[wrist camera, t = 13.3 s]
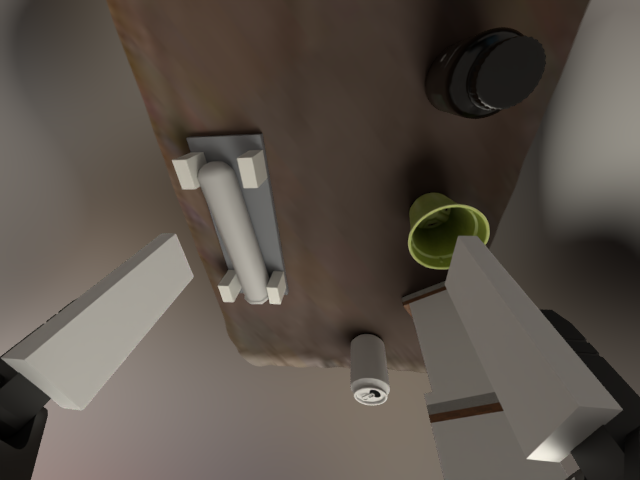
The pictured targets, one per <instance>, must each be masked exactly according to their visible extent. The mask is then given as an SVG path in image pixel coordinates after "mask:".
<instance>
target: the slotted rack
mask: <svg viewBox="0 0 640 480" xmlns="http://www.w3.org/2000/svg"><path fill="white" fill-rule="evenodd" d="M186 139H187V142H188V145H189V148H190V152H191V153H188V154H186V155H183V156H181V157H178V158H176V159H174V160H172V162H173V165H174V167H175V170H176V173H177V176H178V178H179V181H180V184H181V187H182V189H197V188H198V187H200V184H199V182H198V179H197V177H198V173H199V170H200V169H201V168H202V166H203V165H205V164H207V163H209V162H213V161H222V162H224V163H226V164H228V165H229V166H230V167H231V168H232V169H234V171H235V174H236V177H237V180H238V183H239V187H240V190H241V193H242V196H243V199H244V202H245V205H246V208H247V211H248V214H249V217H250V220H251V223H252V227H253V230H254V233H255V236H256V239H257V242H258V245H259V248H260V251H261V254H262V257H263V260H264V263H265V266H266V270H267V273H268V276H269V279H270V280H269V282H268V285H267V287H266V288H267V293H268V297H269V301H270V304H281V302H282V299H283V296H284V295H288V292H289V290H288V284H287V278H286V272H285V266H284V260H283V254H282V248H281V242H280V236H279V230H278V224H277V218H276V212H275V206H274V200H273V194H272V188H271V182H270V176H269V170H268V164H267V158H266V152H265V146H264V140H263V134H241V135H218V136H196V137H188V138H186ZM207 205H208V204H207ZM208 208H209V206H208ZM209 211H210V209H209ZM210 214H211V217H212V220H213V223H214V226H215V230H216V233H217V236H218V239H219V242H220V245H221V248H222V251H223V255H224V258H225V261H226V264H227V267H228V271H227V273H226V274H225V276H224V277H223V279H222V280H221V282H220V283H219V285H218V288H219V291H220V293H221V296H222V299H223V302H234V301H235V299H236V297H237V295H238V294H239V293H244V292H243V289H242V287H241V285H240V282H239V280H238V277H237V275H236V272H235V270H234V267H233V265H232V262H231V260H230V258H229V255H228V253H227V250H226V248H225V245H224V243H223V240H222V238H221V236H220V233H219V231H218V228H217V226H216V223H215V221H214V218H213V216H212V213H211V211H210Z"/></svg>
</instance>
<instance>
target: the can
mask: <svg viewBox="0 0 640 480" xmlns="http://www.w3.org/2000/svg"><path fill="white" fill-rule="evenodd" d="M351 390H352V392H353V393H354V398H355V399H356V400H357V401H358V402H360V403H362V404H366V405H379V404H382V403H384V402H385V401H386V400H387V394H388V393H389V391H390V386H389V378H388V370H387V362H386V354H385V346H384V343H383V341H382V340H381V339H380V338H378V337H376V336H374V335H371V334H362V335H359V336H357V337H356V338H354V339H353V340H352V342H351Z"/></svg>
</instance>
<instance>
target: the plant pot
mask: <svg viewBox="0 0 640 480" xmlns="http://www.w3.org/2000/svg"><path fill="white" fill-rule="evenodd" d="M445 208H448V210H447V211H445ZM409 217H410V225H411V230H410V233H409V236H408V248H409V251H410V254H411V255H412V257H413V258H414V259H415V260H416V261H417V262H418V263H420V264H421V265H423V266H425V267H428V268H432V269H449V267H450V263H451V260H452V256H453V252H454V249H455V245H456V242H457V238H458V236H478V237H479V239H480V240H481V241H482V242H483V243H484V245H486V243H487V241H488V239H489V234H490V229H489V223H488V221H487V219H486V217H485V216H484V215H483V214H482V213H481V212H480V211H479V210H477V209H475V208H474V207H471V206H468V205H464V204H458V203H456V202H454V201H452V200H451V199H449V198H448V197H446V196H445V195H442V194H440V193H427V194H424V195H422V196H420V197H419V198H417V199H416V200H415V202H414V203H413V205H412V206H411V208H410V211H409ZM436 222H437V223H436ZM433 223H436V224H435V225H432V226H428V224H433Z"/></svg>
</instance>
